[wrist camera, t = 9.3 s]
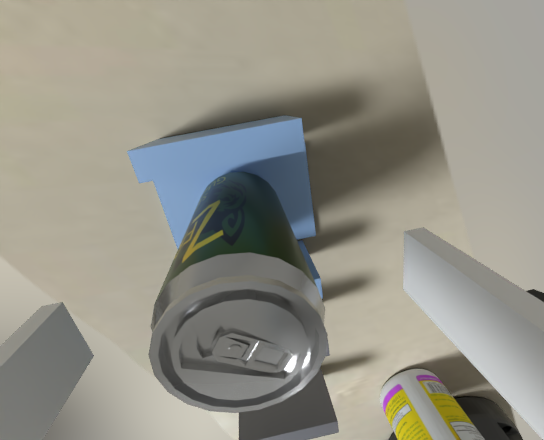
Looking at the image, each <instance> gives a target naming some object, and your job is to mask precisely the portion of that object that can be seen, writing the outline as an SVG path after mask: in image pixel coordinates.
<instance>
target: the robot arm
mask: <svg viewBox="0 0 544 440" xmlns="http://www.w3.org/2000/svg"><path fill="white" fill-rule="evenodd" d="M403 290H404V291H405V292H406V293H407V294H408V295H409V296H410V297H411V298H412V299H413V300H414V301H415V303H416V304H417V305H418V306H419V307H420V308H421V309H422V310H423V311H424V312H425V313H426V314H427V315H428V317H429V318H430V319H431V320H432V321H433V322H434V323H435V324H436V325H437V326H438V327H439V328H440V330H441V331H442V332H443V333H444V334H445V335H446V336H447V337H448V338H449V339H450V340H451V341H452V343H453V344H454V345H455V346H456V347H457V348H458V349H459V350H460V351H461V352H462V353H463V354H464V356H465V357H466V358H467V359H468V360H469V361H470V362H471V363H472V364H473V365H474V366H475V367H476V368H477V370H478V371H479V372H480V373H481V374H482V375H483V376H484V377H485V378H486V379H487V380H488V381H489V383H490V384H491V385H492V386H493V387H494V388H495V389H496V390H497V391H498V392H499V393H500V394H501V396H502V397H503V398H504V399H505V400H506V401H507V402H508V403H509V404H510V405H511V406H512V407H513V408H514V409H515V411H516V412H517V413H518V414H519V415H520V416H521V417H522V418H523V419H524V420H525V421H526V422H527V424H528V425H529V426H530V427H531V428H532V429H533V430H534V431H535V432H536V433H537V434H538V435H539V436H540V438H541V439H542V440H544V293H542V292H539V291H536V290H534V289H533V290H528V291H525V290H523V289H522V288H520V287H518V286H517V285H515V284H514V283H512V282H510V281H509V280H507V279H505V278H504V277H502V276H501V275H499V274H497V273H496V272H494V271H493V270H491V269H489V268H488V267H486V266H485V265H483V264H481V263H480V262H478V261H477V260H475V259H473V258H472V257H470V256H469V255H467V254H465V253H464V252H462V251H461V250H459V249H457V248H456V247H454V246H452V245H451V244H449V243H448V242H446V241H444V240H443V239H441V238H440V237H438V236H436V235H435V234H433V233H432V232H430V231H428V230H427V229H425V228H424V227H423V228H418V229H413V230H408V231H404V280H403ZM93 356H94V355H93V354H92V352H91V350H90V349H89V347H88V345H87V343H86V341H85V340H84V338H83V337H82V335H81V333H80V331H79V329H78V328H77V326H76V324H75V323H74V321H73V319H72V317H71V316H70V314H69V312H68V311H67V309H66V307H65V306H64V304H63V302H60V303H56V304H51V305H46V306H42V307H41V308H39V310H37V311H36V312H35V313H34V314H33V315H32V316H31V317H30V318H29V319H28V320H27V321H26V322H25V323H24V324H23V325H22V326H21V327H20V328H19V329H18V330H17V331H15V333H13V334H12V335H11V336H10V337H9V338H8V339H7V340H6V341H5V342H4V343H3V344H2V345H1V346H0V440H43V438H44V436H45V435H46V433H47V432H48V430H49V428H50V427H51V425H52V423H53V422H54V420H55V418H56V417H57V415H58V414H59V412H60V410H61V409H62V407H63V405H64V404H65V402H66V400H67V399H68V397H69V396H70V394H71V392H72V391H73V389H74V387H75V385H76V384H77V383H78V381H79V379H80V378H81V376H82V374H83V373H84V371H85V369H86V368H87V366H88V365H89V363H90V361H91V359H92V358H93ZM455 400H456V402H457V403H458V404H459V406H460V407H461V408H462V410H463V411H464V412H465V414H466V415H467V416H468V418H469V419H470V420H471V422H472V423H473V424H474V426H475V427H476V429H477V430H478V431H479V433H480V434H481V435H482V437H483V438H484V439H485V440H523V439H522V437H521V435H520V433H519V431H518V429H517V428H516V426H515V425H514V423H513V422H512V421H511V420H510V419H509V418H508V417H507V415H506V414H505V413H504V412H503V411H502V410H501V408H500V407H499V406H498V405H497V404H495V403H494V402H492V401H490V400H487V399H484V398H478V397H463V398H456V399H455ZM389 440H398V439H397V437H396V435H395V433H393V434H392V436H391V437H390V439H389Z"/></svg>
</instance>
